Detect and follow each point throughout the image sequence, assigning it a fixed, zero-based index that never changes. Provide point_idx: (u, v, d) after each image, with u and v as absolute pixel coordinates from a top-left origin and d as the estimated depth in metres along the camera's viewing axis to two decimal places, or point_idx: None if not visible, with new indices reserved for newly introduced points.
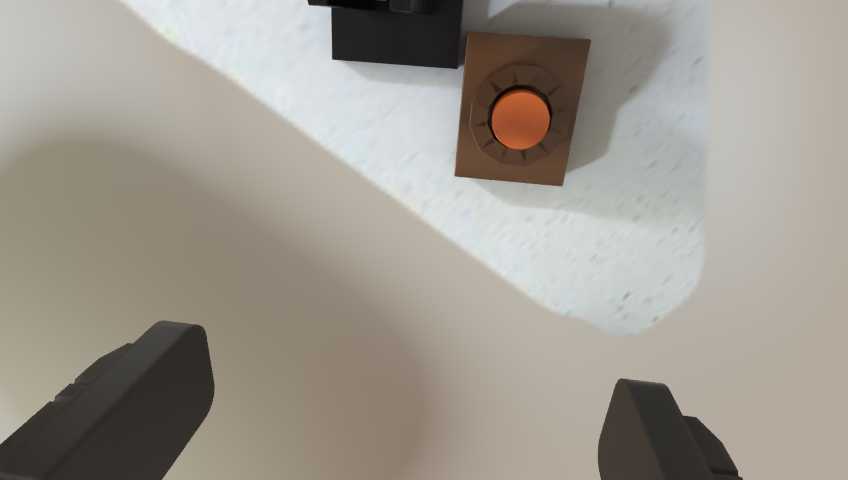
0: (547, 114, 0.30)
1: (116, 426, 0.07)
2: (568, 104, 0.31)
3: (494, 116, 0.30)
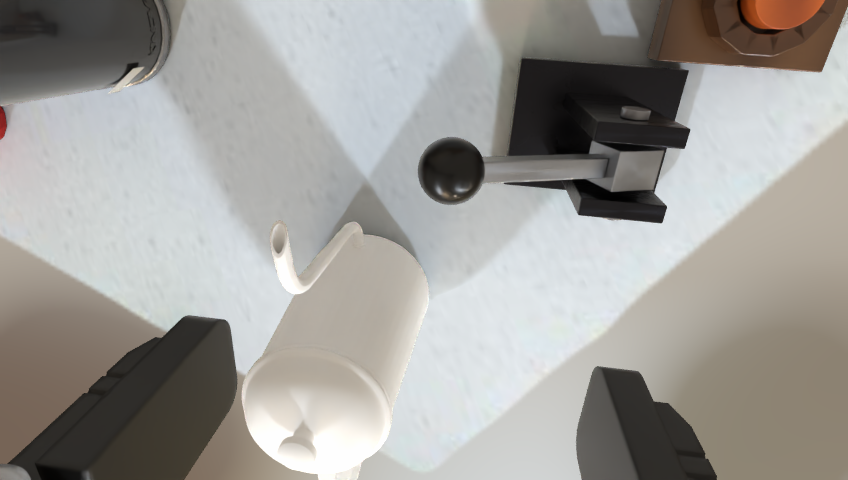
0: None
1: (151, 416, 0.07)
2: None
3: (776, 27, 0.26)
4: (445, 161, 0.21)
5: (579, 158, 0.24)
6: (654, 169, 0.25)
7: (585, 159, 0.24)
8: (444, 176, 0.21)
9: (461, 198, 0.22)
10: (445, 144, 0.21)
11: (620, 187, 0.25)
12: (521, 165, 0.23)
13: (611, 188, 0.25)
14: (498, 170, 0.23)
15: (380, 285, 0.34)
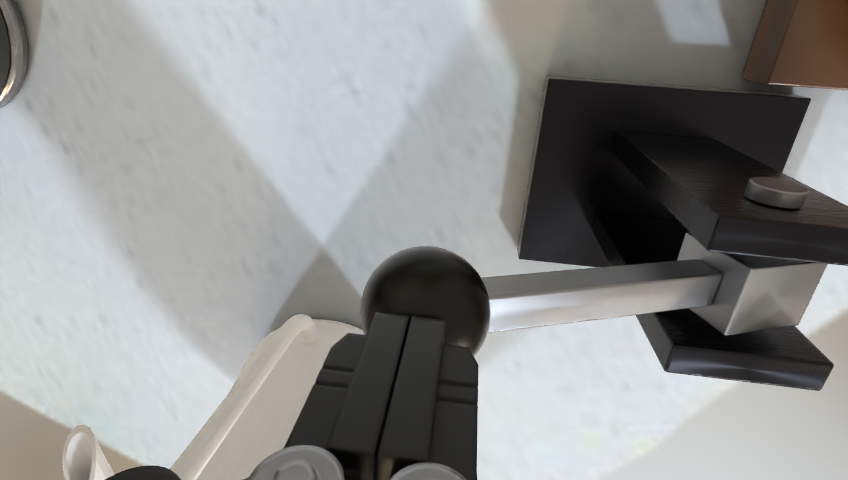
0: None
1: (389, 406, 0.08)
2: None
3: None
4: (407, 311, 0.10)
5: (669, 276, 0.13)
6: (806, 293, 0.14)
7: (680, 279, 0.13)
8: None
9: None
10: (409, 270, 0.11)
11: (743, 326, 0.13)
12: (560, 297, 0.12)
13: (726, 329, 0.13)
14: (517, 308, 0.12)
15: None
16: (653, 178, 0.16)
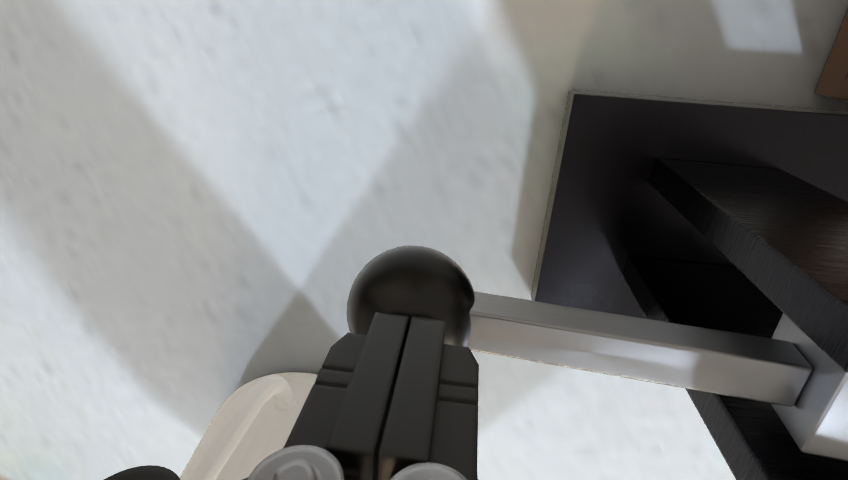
0: None
1: (388, 406, 0.08)
2: None
3: None
4: (369, 299, 0.10)
5: (722, 350, 0.10)
6: None
7: (737, 357, 0.10)
8: (362, 327, 0.11)
9: None
10: (386, 263, 0.11)
11: (835, 450, 0.10)
12: (556, 334, 0.11)
13: (804, 444, 0.10)
14: (502, 333, 0.11)
15: None
16: (726, 234, 0.12)
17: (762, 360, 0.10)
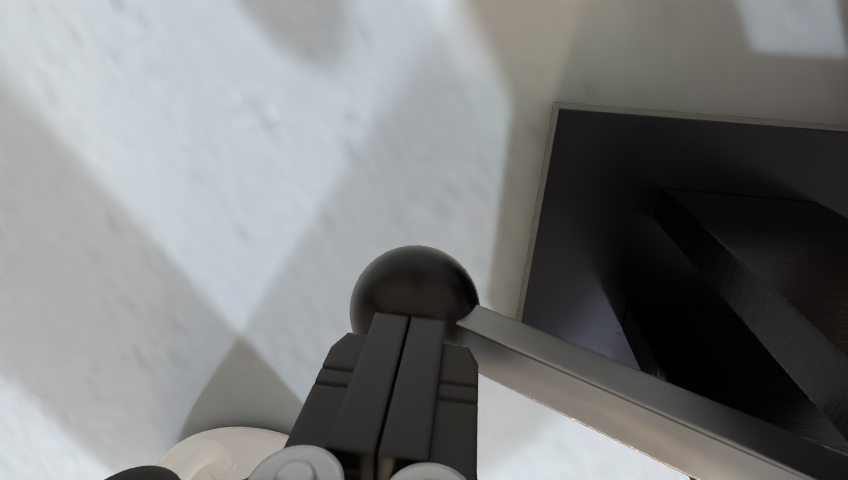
0: None
1: (389, 406, 0.08)
2: None
3: None
4: (361, 288, 0.11)
5: (741, 441, 0.08)
6: None
7: (757, 457, 0.08)
8: (352, 313, 0.11)
9: None
10: (387, 257, 0.11)
11: None
12: (540, 368, 0.09)
13: None
14: (486, 353, 0.10)
15: None
16: (762, 312, 0.09)
17: (797, 471, 0.07)
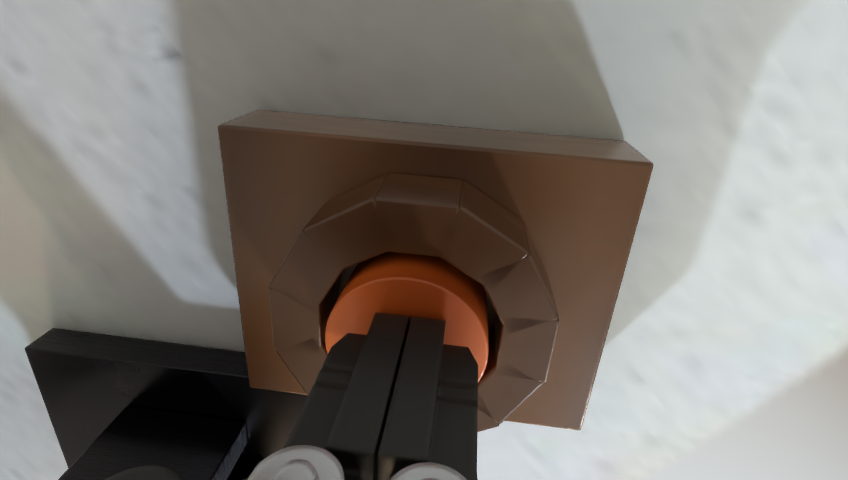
0: (380, 284, 0.10)
1: (389, 406, 0.08)
2: (362, 208, 0.10)
3: None
4: None
5: None
6: None
7: None
8: None
9: None
10: None
11: None
12: None
13: None
14: None
15: None
16: None
17: None
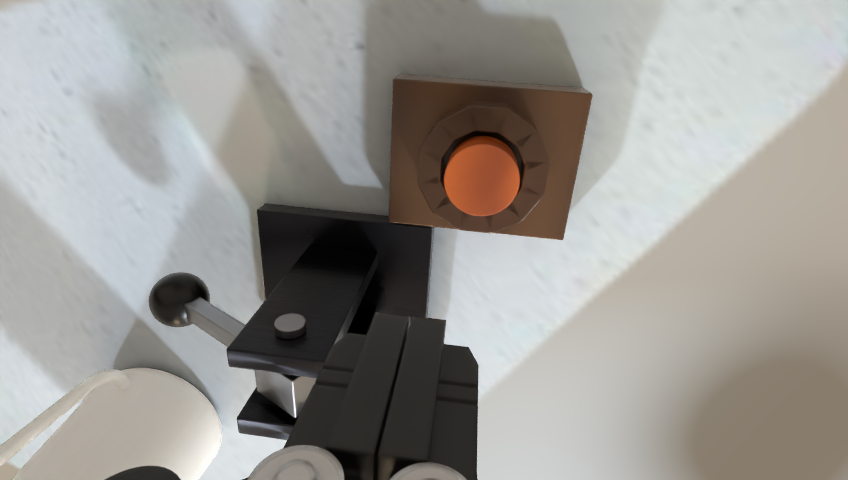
0: (472, 147, 0.22)
1: (389, 406, 0.08)
2: (465, 110, 0.23)
3: (473, 214, 0.23)
4: (151, 290, 0.27)
5: None
6: (288, 396, 0.21)
7: None
8: None
9: (161, 322, 0.27)
10: (163, 278, 0.27)
11: (263, 392, 0.23)
12: (204, 320, 0.26)
13: (257, 387, 0.23)
14: (193, 315, 0.26)
15: (118, 448, 0.31)
16: None
17: None
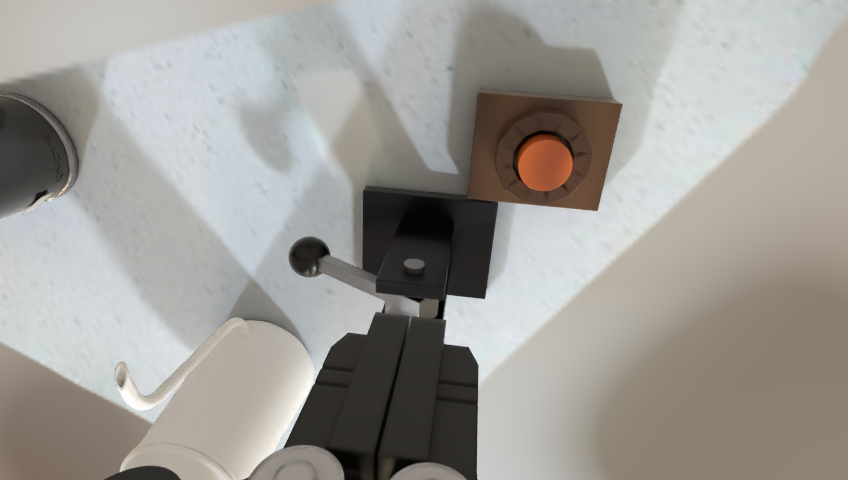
0: (540, 142, 0.31)
1: (389, 406, 0.08)
2: (534, 116, 0.32)
3: (538, 189, 0.33)
4: (291, 249, 0.36)
5: (373, 281, 0.33)
6: (414, 314, 0.31)
7: (375, 284, 0.33)
8: (289, 257, 0.37)
9: (298, 273, 0.37)
10: (299, 240, 0.37)
11: None
12: (336, 269, 0.35)
13: (385, 312, 0.32)
14: (325, 267, 0.36)
15: (251, 375, 0.40)
16: None
17: None
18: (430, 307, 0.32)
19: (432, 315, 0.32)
